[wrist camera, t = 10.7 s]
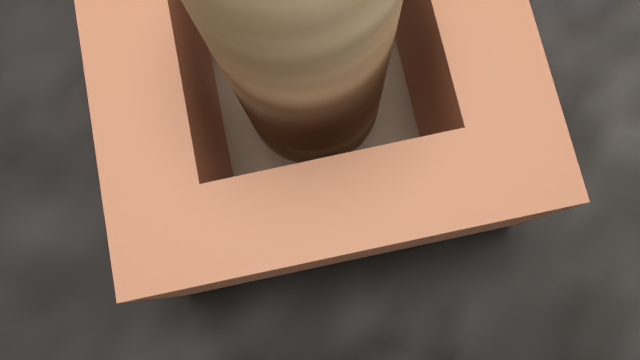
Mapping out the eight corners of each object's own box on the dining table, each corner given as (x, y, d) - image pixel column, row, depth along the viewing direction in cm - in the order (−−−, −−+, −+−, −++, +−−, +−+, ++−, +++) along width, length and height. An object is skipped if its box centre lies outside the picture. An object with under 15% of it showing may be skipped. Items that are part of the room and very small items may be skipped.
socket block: (509, 226, 17) (589, 202, 11) (188, 295, 17) (117, 303, 11) (430, -64, 19) (467, -204, 13) (139, -2, 19) (57, -117, 13)
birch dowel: (404, 88, 17) (547, -331, 5) (326, 190, 17) (292, -20, 5) (301, 16, 18) (224, -510, 6) (223, 114, 17) (-34, -243, 5)
